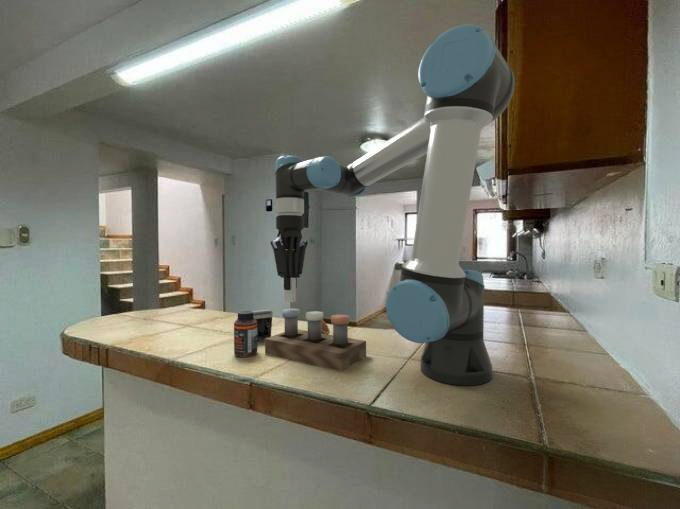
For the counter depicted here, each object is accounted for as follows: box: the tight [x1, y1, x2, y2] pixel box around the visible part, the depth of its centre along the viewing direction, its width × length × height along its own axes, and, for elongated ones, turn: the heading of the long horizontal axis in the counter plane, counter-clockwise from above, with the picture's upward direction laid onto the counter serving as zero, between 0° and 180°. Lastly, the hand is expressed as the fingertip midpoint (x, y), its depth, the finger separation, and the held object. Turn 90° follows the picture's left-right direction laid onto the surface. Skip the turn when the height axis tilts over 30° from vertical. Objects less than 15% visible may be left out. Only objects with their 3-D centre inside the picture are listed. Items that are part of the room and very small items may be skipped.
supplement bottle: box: [233, 310, 258, 358], centre depth 86 cm, size 6×6×11 cm
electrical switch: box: [252, 309, 273, 342], centre depth 99 cm, size 9×5×9 cm, turn 117°
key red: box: [330, 314, 351, 345], centre depth 81 cm, size 5×5×6 cm
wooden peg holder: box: [264, 329, 367, 372], centre depth 86 cm, size 24×12×4 cm, turn 58°
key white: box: [305, 310, 324, 340], centre depth 85 cm, size 5×5×6 cm
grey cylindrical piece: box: [282, 308, 300, 335], centre depth 90 cm, size 5×5×6 cm
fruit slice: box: [321, 318, 331, 335], centre depth 102 cm, size 8×7×5 cm
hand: (290, 301), depth 90 cm, fingers closed
